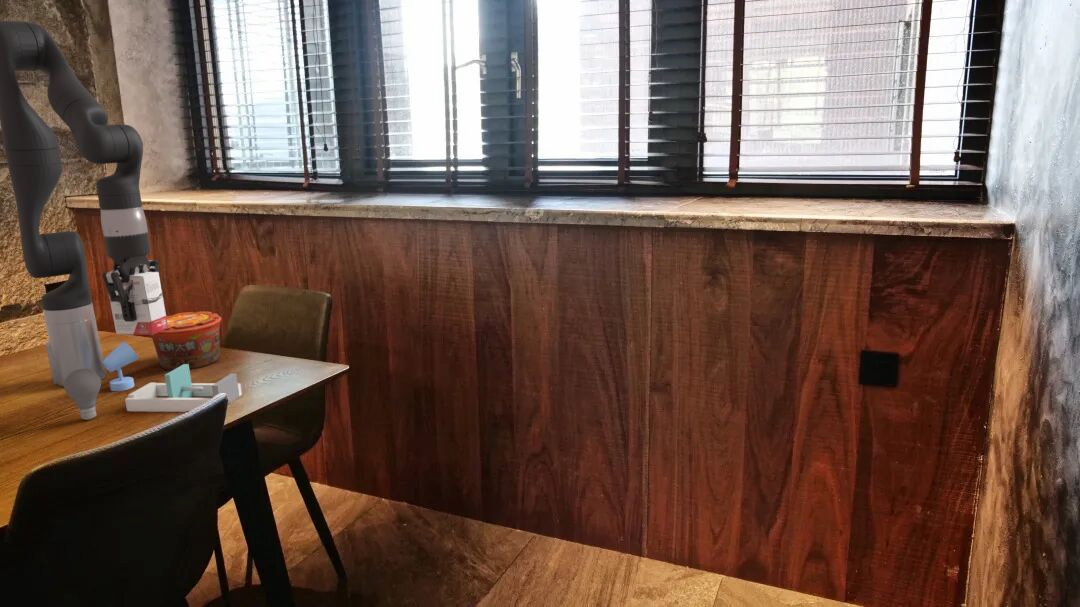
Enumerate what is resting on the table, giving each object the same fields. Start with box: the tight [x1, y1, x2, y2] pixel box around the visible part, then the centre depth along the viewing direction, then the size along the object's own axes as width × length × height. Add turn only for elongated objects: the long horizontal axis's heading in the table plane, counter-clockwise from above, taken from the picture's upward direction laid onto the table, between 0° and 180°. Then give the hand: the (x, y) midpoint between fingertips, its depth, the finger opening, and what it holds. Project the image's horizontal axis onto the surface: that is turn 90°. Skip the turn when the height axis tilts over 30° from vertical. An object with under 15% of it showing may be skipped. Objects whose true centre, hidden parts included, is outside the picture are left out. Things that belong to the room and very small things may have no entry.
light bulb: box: [63, 369, 102, 421], centre depth 140 cm, size 6×6×10 cm
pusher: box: [164, 364, 203, 398], centre depth 146 cm, size 5×7×7 cm
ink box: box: [108, 271, 168, 336], centre depth 143 cm, size 9×5×12 cm, turn 79°
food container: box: [150, 310, 223, 371], centre depth 173 cm, size 16×16×11 cm
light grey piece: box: [124, 372, 243, 413], centre depth 147 cm, size 19×9×5 cm, turn 84°
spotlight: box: [102, 340, 140, 392], centre depth 157 cm, size 5×10×7 cm
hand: (140, 316), depth 144 cm, fingers closed on ink box, 5 cm apart
